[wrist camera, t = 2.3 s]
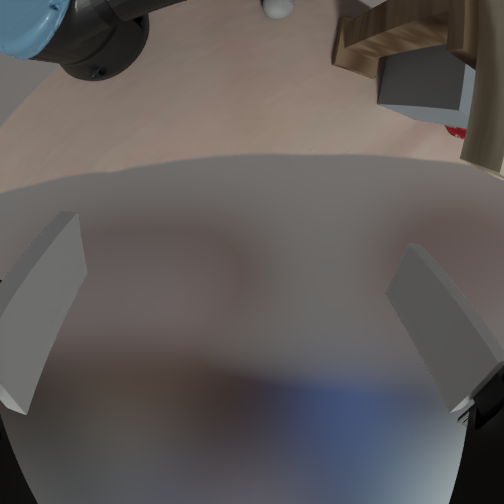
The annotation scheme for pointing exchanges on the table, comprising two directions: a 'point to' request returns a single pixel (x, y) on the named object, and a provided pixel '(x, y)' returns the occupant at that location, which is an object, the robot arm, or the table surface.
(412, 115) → the grey block
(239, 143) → the table surface
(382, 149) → the table surface
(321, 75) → the table surface
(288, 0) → the smooth white sculpture
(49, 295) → the robot arm
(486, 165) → the pale wooden bar
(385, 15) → the walnut stand
